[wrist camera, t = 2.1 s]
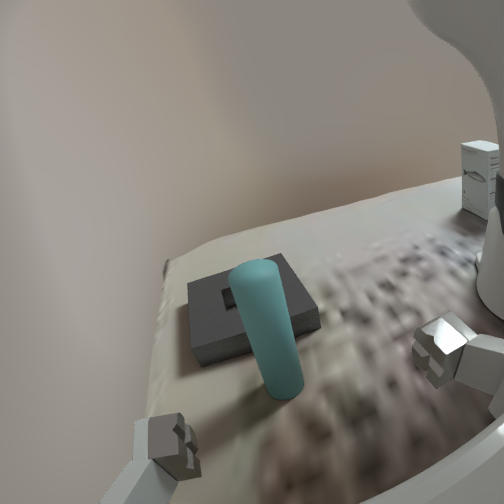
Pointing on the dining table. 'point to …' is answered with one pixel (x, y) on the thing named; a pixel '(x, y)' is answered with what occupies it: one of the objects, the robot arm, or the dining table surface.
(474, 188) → the supplement box
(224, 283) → the socket block
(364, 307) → the dining table surface
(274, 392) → the peg
